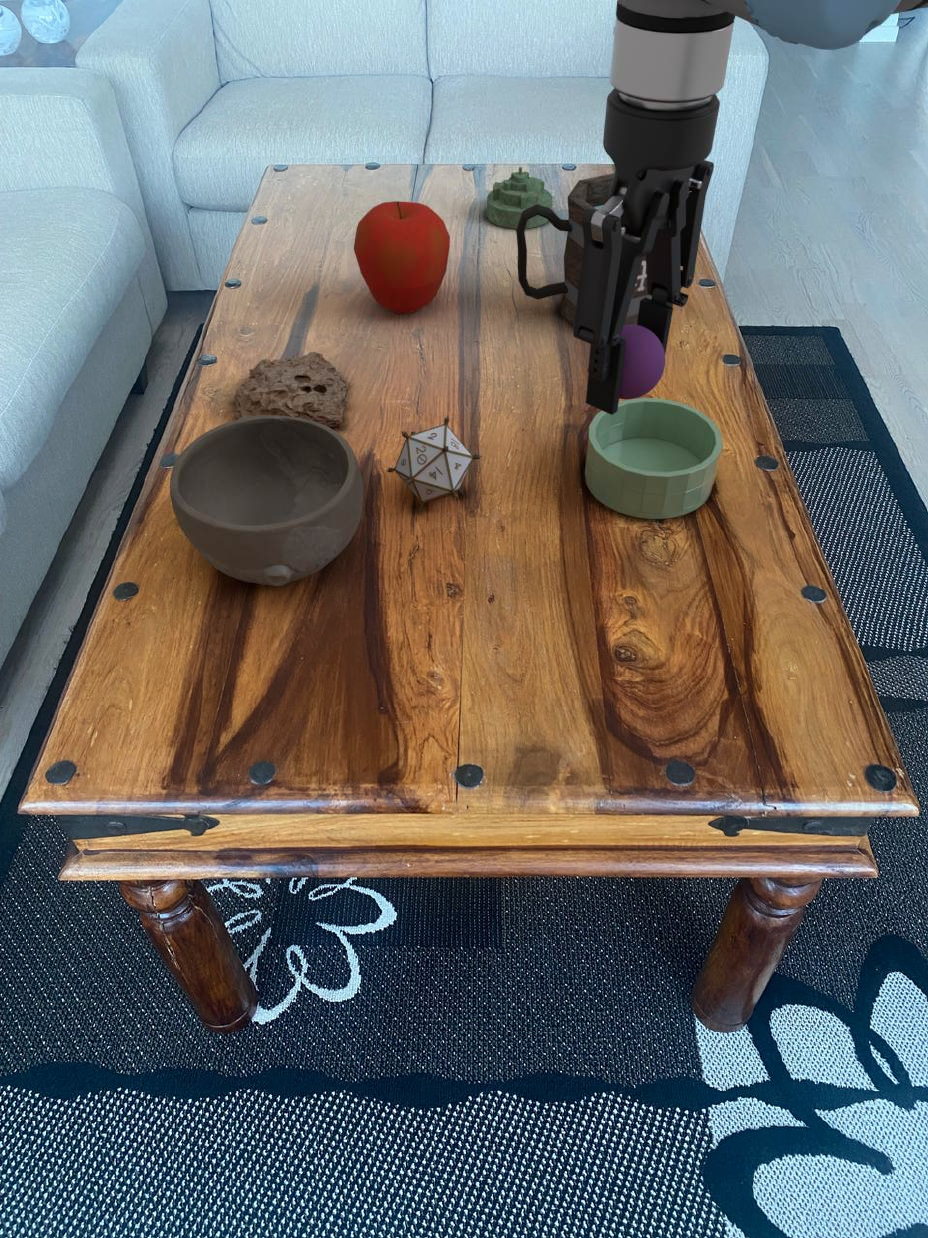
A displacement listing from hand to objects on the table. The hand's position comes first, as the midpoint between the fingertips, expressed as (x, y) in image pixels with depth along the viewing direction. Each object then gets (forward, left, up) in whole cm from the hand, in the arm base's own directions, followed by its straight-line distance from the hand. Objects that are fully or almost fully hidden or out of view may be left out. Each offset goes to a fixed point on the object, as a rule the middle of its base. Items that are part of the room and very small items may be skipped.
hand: (624, 389), depth 78 cm
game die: (+17, +6, -17) cm, 25 cm away
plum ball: (0, 0, +3) cm, 3 cm away
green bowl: (+2, -11, -17) cm, 21 cm away
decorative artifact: (+54, -52, -17) cm, 77 cm away
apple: (+47, -20, -17) cm, 54 cm away
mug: (+28, -35, -17) cm, 48 cm away
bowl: (+23, +22, -17) cm, 37 cm away
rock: (+42, +4, -17) cm, 46 cm away
